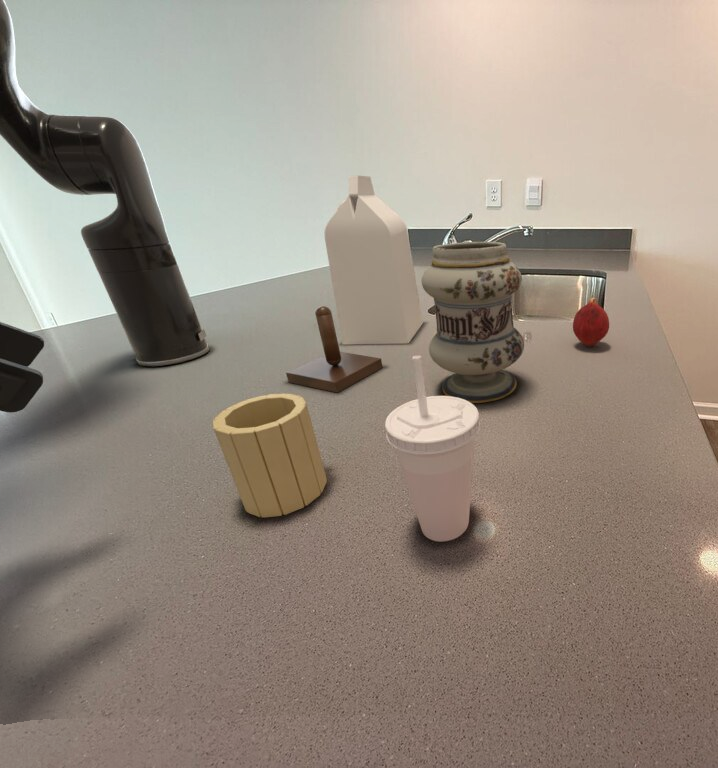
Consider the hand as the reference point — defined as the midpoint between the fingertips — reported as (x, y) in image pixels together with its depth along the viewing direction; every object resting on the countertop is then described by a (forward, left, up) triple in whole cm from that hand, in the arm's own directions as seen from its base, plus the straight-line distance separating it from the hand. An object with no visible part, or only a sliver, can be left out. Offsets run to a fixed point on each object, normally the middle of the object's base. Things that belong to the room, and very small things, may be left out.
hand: (35, 372), depth 23 cm
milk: (-17, +48, -15) cm, 53 cm away
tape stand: (-11, +30, -15) cm, 35 cm away
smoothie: (+19, +11, -15) cm, 26 cm away
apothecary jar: (+10, +34, -15) cm, 39 cm away
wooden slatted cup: (+4, +9, -15) cm, 18 cm away
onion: (+20, +54, -15) cm, 60 cm away
